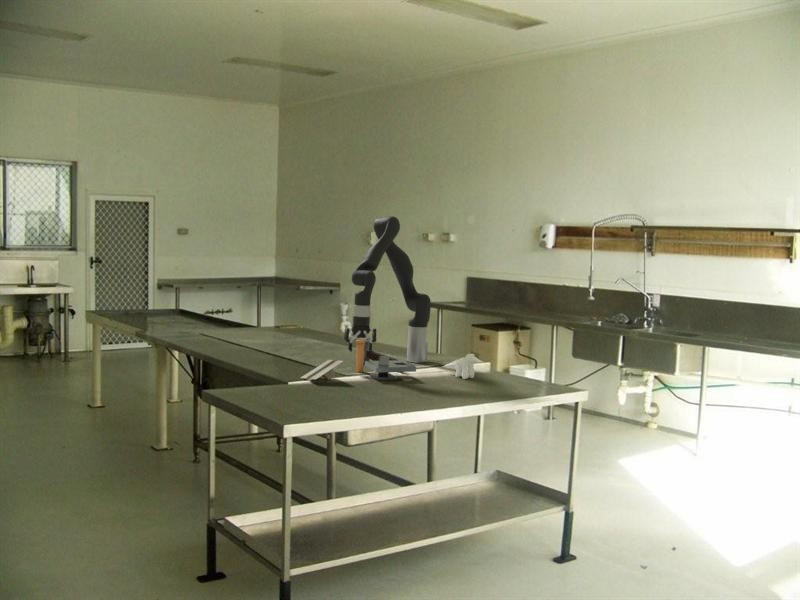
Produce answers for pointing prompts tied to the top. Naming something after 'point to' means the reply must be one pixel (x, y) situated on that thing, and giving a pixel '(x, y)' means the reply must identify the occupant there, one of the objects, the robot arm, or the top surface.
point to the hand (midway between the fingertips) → (359, 351)
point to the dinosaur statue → (464, 366)
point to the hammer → (373, 354)
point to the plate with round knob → (388, 368)
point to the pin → (360, 355)
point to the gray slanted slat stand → (323, 371)
